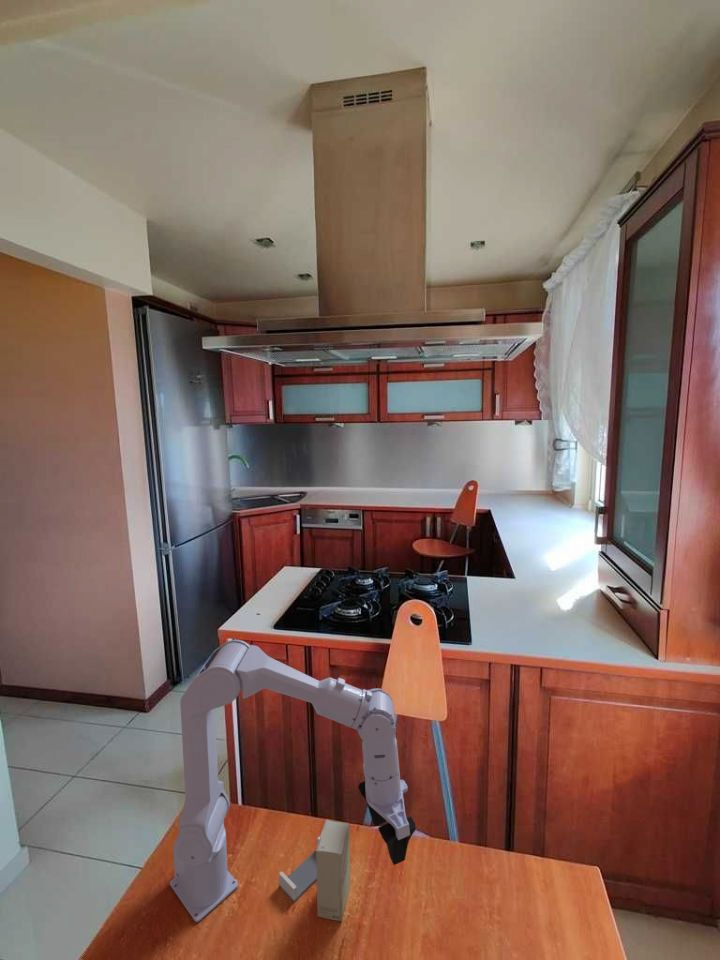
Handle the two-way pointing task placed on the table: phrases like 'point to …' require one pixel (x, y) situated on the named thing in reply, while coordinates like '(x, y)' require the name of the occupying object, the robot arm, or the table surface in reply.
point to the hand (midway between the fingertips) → (388, 840)
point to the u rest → (300, 877)
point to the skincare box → (333, 870)
